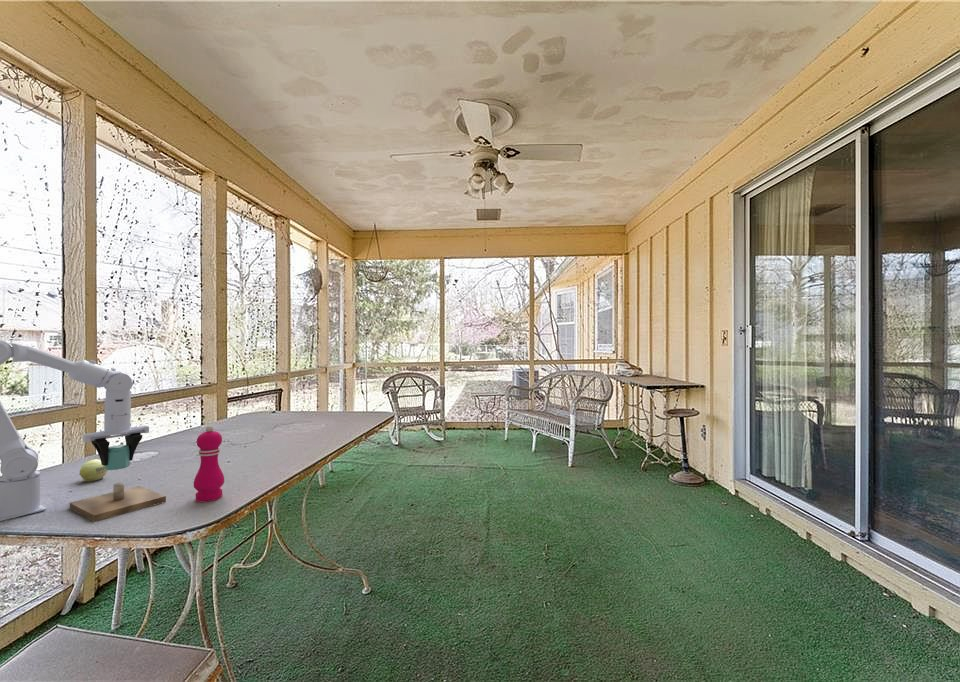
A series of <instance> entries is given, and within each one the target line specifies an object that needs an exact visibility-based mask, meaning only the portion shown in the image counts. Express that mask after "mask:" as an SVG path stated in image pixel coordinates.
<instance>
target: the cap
mask: <svg viewBox="0 0 960 682" xmlns="http://www.w3.org/2000/svg"><path fill="white" fill-rule="evenodd" d="M130 466H131V464H130V448H129V445H126V444H120V445H119V444H117V445H112V446H109V449H108V465H106V466H105V470H108V471H118V470H121V469H126V468H129V467H130Z"/></svg>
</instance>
